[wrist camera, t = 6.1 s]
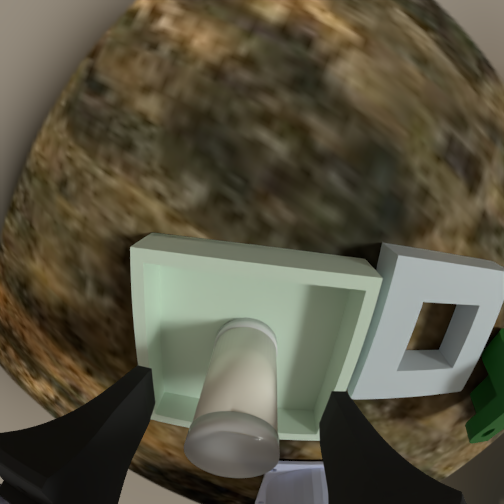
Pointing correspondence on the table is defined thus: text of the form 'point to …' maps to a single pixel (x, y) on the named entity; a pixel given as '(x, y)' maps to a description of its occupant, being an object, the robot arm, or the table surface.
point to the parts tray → (250, 306)
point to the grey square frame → (405, 316)
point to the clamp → (489, 394)
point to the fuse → (238, 404)
